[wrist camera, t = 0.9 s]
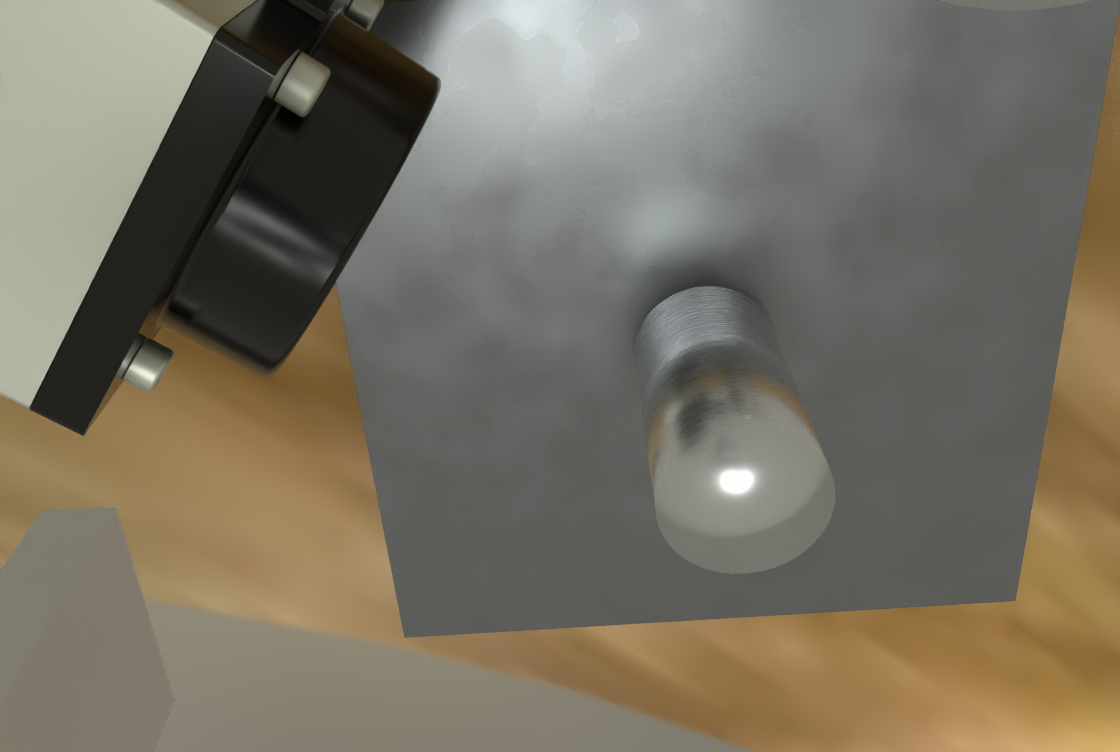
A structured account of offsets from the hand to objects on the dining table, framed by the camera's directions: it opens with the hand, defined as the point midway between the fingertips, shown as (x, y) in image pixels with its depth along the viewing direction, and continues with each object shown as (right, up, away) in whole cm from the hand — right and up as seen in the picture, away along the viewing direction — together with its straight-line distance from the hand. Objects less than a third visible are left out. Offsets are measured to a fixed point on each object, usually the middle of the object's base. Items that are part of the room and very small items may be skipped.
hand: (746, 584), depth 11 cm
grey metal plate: (+3, +4, +23) cm, 23 cm away
